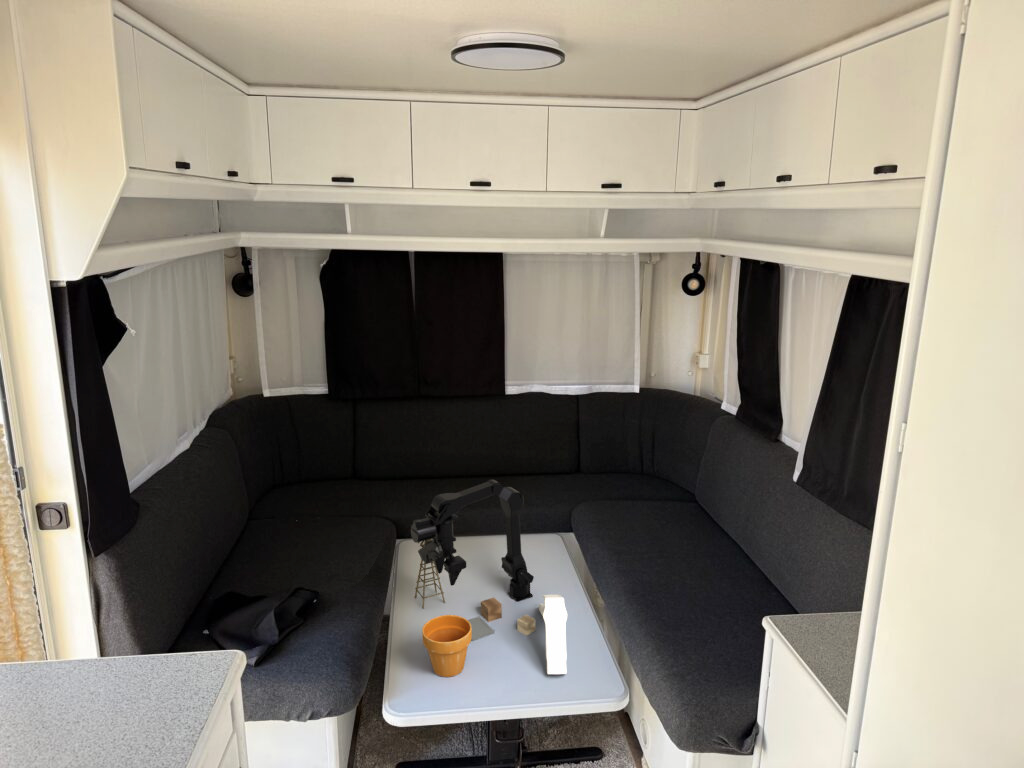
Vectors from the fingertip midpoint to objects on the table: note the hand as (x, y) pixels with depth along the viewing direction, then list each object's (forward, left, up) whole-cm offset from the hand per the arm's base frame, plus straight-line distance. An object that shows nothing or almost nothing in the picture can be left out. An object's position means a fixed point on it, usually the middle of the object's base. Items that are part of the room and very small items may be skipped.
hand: (446, 579), depth 224 cm
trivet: (-5, +10, -14) cm, 18 cm away
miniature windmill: (0, -14, -15) cm, 20 cm away
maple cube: (-18, +19, -15) cm, 30 cm away
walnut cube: (-13, +6, -15) cm, 21 cm away
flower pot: (+11, +23, -15) cm, 29 cm away
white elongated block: (-22, +29, -15) cm, 39 cm away
